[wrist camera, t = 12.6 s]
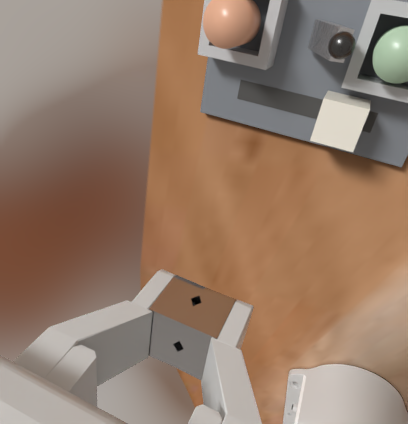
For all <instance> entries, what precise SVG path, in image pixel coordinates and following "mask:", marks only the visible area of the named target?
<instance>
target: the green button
mask: <svg viewBox="0 0 408 424" xmlns="http://www.w3.org/2000/svg"><path fill="white" fill-rule="evenodd" d="M373 67H374V70H375V72H376V74H377V75H378V76H379V77H380V78H381V79H382V80H384V81H386V82H389V83H397V84H398V83H404V82H408V25H400V26H396V27H393V28H391V29H389V30H387V31H386V32H385V33H383V34H382V35H381V36H380V38H379V39H378V40H377V42H376V44H375V46H374V49H373Z"/></svg>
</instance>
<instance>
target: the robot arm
mask: <svg viewBox="0 0 408 424" xmlns="http://www.w3.org/2000/svg"><path fill="white" fill-rule="evenodd" d="M252 311H253V305H250V304H247V303H245V302H242V301H240V300H237V299H234V298H232V297H229V296H226V295H224V294H221V293H219V292H216V291H214V290H211V289H208V288H205V287H203V286H201V285H198V284H196V283H194V282H191V281H189V280H187V279H184V278H182V277H180V276H177V275H174V274H172V273H169V272H167V271H165V270H163V269H161V270H159V271H157V273H156V274H155V275H154V276H153V277H152V279H151V280H150V281H149V282H148V283H147V284H146V286H145V287H144V288H143V289H142V290H141V291H140V293H139V294H138V295H137V296H136V297H135V298H134V300H133V301H132V302H130V301H124V302H121V303H118V304H115V305H112V306H109V307H106V308H103V309H100V310H98V311H95V312H92V313H89V314H86V315H83V316H81V317H77V318H74V319H71V320H68V321H65V322H63V323H60V324H57V325H54V326H51V327H49V328H48V329H47V330H46V331H45V332H44V333H43V334H41V335H40V336H39V338H37V339H36V340H35V341H34V342H33V343H32V344H31V345H30V346H29V347H28V348H27V349H26V350H25V351H24V352H23V353H21V355H19V356H18V358H16V359H15V360H14V361H13V362H12V361H10V360H8V359H6V358H5V357H3V356H1V355H0V424H127V423H125V422H124V421H122V420H120V419H118V418H116V417H114V416H112V415H111V414H109V413H107V412H105V411H103V410H101V409H99V408H98V407H97V386H99V385H100V384H102V383H104V382H106V381H107V380H109V379H111V378H113V377H114V376H116V375H118V374H120V373H122V372H123V371H125V370H127V369H129V368H130V367H132V366H134V365H136V364H137V363H139V362H141V361H143V360H144V359H146V358H148V355H149V356H151V357H153V358H156V359H158V360H160V361H162V362H165V363H167V364H169V365H171V366H174V367H176V368H178V369H180V370H182V371H184V372H186V373H188V374H190V375H192V376H194V377H196V378H197V379H199V380H201V384H202V393H203V403H204V405H203V404H202V405H200V406H197V407H196V408H195V410H194V412H193V414H192V416H191V418H190V421H189V423H188V424H262V422H261V419H260V415H259V411H258V408H257V404H256V401H255V397H254V394H253V390H252V386H251V383H250V379H249V376H248V372H247V368H246V365H245V361H244V358H243V354H242V351H241V350H240V349H241V346H242V343H243V340H244V337H245V334H246V331H247V328H248V324H249V321H250V318H251V315H252ZM283 424H408V412H407V410H406V408H405V404H404V401H403V399H402V397H401V395H400V394H399V393H398V391H397V390H396V389H395V388H394V387H393V386H392V385H391V384H390V383H388V382H387V381H386V380H384V379H383V378H381V377H380V376H378V375H376V374H374V373H372V372H370V371H367V370H365V369H362V368H359V367H355V366H350V365H343V364H327V365H322V366H318V367H315V368H312V369H292V370H290V371H289V375H288V384H287V392H286V400H285V409H284V417H283Z"/></svg>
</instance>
